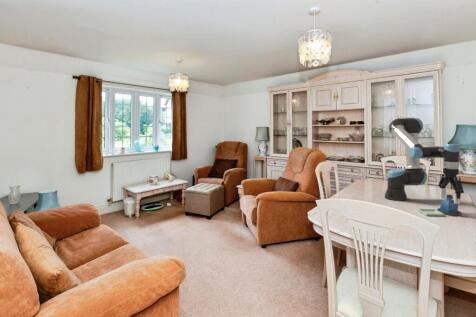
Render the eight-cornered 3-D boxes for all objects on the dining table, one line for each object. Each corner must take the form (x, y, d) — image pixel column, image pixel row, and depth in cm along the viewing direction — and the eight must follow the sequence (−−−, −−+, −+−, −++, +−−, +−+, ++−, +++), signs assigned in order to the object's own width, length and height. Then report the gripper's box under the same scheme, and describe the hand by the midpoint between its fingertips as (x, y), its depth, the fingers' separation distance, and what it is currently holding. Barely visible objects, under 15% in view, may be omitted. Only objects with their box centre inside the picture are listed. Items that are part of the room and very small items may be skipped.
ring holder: (433, 210, 166) (433, 208, 166) (452, 210, 164) (452, 208, 164) (444, 215, 155) (444, 213, 155) (465, 216, 153) (465, 214, 153)
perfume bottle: (448, 211, 163) (449, 193, 161) (457, 214, 157) (458, 196, 155) (439, 211, 162) (440, 194, 161) (448, 214, 156) (449, 196, 155)
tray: (417, 210, 166) (417, 208, 165) (434, 211, 164) (434, 209, 164) (426, 216, 156) (426, 213, 155) (444, 216, 154) (444, 214, 154)
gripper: (432, 165, 169) (431, 196, 171) (458, 170, 145) (456, 205, 147) (444, 165, 168) (443, 196, 170) (472, 170, 144) (471, 206, 145)
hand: (449, 200), depth 158 cm, fingers open, 13 cm apart
